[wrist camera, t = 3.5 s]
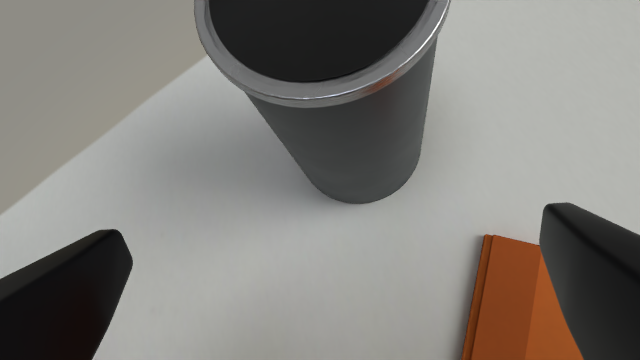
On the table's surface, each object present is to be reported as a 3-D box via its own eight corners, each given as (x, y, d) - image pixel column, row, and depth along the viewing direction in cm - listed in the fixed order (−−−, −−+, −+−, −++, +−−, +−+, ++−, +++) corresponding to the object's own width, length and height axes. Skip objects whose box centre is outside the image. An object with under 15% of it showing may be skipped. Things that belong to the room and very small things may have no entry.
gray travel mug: (430, 203, 21) (471, 81, 9) (296, 211, 23) (182, 112, 11) (412, 24, 25) (426, -238, 13) (295, 39, 26) (206, -186, 14)
